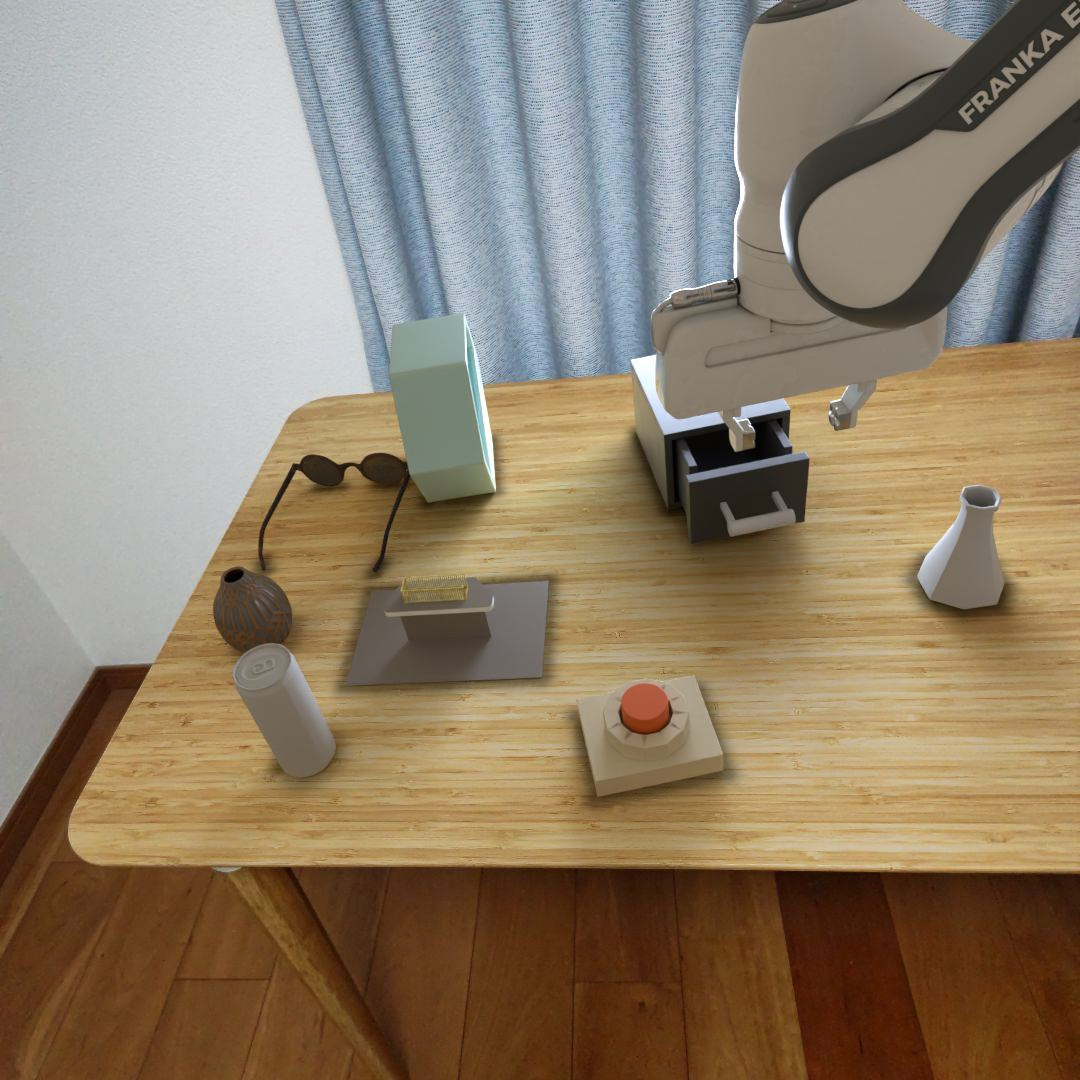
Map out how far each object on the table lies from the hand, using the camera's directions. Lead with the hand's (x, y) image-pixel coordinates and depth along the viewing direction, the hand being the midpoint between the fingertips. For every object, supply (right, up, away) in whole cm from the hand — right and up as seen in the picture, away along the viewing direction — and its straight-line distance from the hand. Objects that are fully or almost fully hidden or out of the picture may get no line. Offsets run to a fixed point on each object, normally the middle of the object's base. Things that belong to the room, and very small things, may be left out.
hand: (791, 435), depth 69 cm
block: (-11, -24, +4) cm, 27 cm away
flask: (+18, -12, +12) cm, 25 cm away
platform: (-28, -17, +16) cm, 36 cm away
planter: (-28, -1, +34) cm, 44 cm away
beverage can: (-39, -26, +8) cm, 47 cm away
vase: (-46, -18, +19) cm, 53 cm away
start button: (-11, -22, +1) cm, 24 cm away
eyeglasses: (-41, -7, +30) cm, 51 cm away
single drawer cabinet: (-1, +1, +30) cm, 30 cm away
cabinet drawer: (0, -4, +22) cm, 23 cm away
